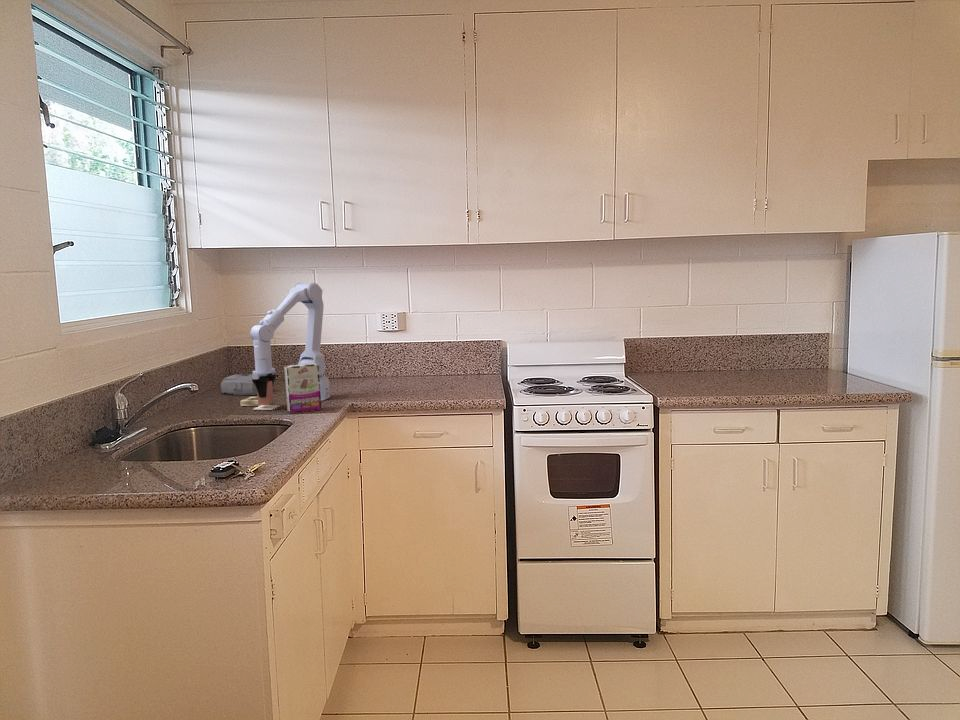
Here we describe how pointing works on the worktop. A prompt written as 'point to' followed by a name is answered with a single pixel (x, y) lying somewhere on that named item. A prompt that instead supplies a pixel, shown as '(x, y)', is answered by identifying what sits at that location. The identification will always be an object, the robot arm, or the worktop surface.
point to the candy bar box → (302, 387)
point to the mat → (266, 407)
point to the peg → (267, 395)
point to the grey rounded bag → (239, 385)
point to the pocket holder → (250, 401)
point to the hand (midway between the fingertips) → (265, 396)
